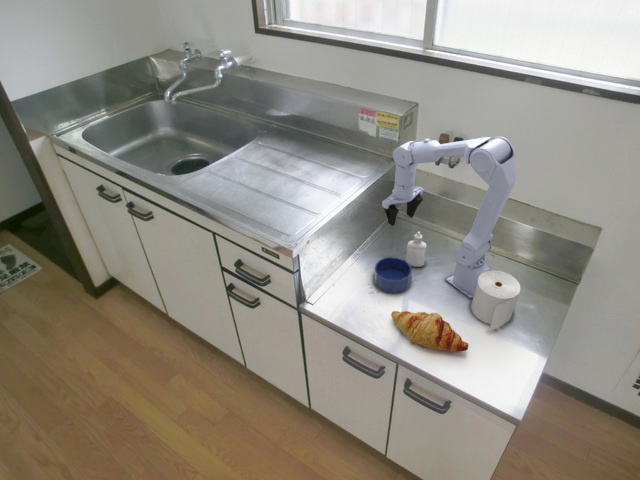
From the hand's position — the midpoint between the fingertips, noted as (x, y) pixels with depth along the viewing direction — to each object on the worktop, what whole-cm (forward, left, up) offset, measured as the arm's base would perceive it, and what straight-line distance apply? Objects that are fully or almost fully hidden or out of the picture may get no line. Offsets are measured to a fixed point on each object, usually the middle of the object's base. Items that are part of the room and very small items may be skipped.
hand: (400, 220), depth 141 cm
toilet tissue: (-37, -1, -11) cm, 38 cm away
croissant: (-32, +19, -11) cm, 39 cm away
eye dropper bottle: (-9, +2, -11) cm, 14 cm away
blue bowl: (-11, +13, -10) cm, 20 cm away
